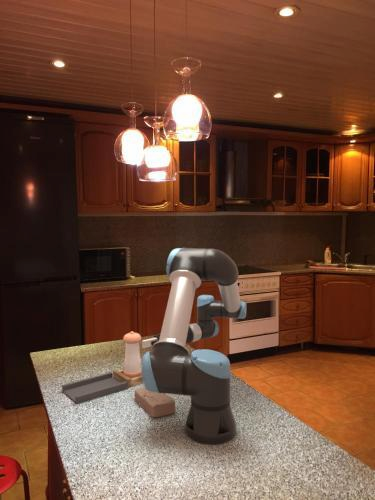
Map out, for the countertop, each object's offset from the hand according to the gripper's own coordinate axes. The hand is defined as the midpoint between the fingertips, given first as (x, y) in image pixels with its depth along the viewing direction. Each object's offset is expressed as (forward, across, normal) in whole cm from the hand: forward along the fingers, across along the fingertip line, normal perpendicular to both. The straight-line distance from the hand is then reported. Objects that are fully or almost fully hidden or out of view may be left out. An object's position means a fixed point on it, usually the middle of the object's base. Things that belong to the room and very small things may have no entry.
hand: (143, 344), depth 160 cm
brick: (+11, -24, -14) cm, 30 cm away
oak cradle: (+5, 0, -13) cm, 14 cm away
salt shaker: (+5, 0, -13) cm, 14 cm away
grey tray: (+21, 0, -13) cm, 25 cm away
